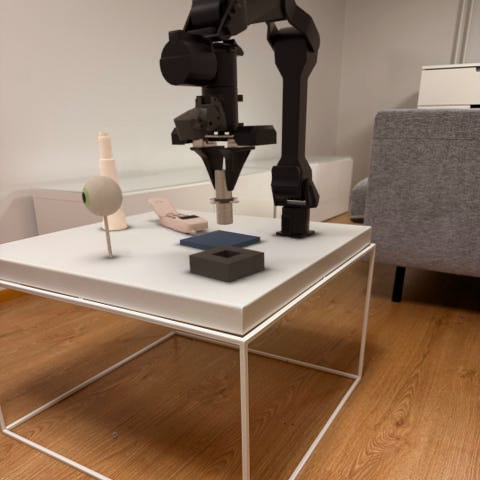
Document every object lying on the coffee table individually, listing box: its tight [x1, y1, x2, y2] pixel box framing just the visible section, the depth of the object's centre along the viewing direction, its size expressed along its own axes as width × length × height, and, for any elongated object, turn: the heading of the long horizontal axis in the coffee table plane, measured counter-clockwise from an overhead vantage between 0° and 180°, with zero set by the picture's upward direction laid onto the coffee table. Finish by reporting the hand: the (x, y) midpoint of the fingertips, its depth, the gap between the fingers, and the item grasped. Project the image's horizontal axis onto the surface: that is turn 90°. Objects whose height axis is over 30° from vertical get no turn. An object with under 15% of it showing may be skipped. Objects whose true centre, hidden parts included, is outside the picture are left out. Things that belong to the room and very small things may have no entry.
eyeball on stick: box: [81, 175, 124, 259], centre depth 86 cm, size 7×7×15 cm
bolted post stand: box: [209, 168, 240, 226], centre depth 80 cm, size 6×6×9 cm
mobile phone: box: [146, 196, 209, 236], centre depth 114 cm, size 6×6×25 cm
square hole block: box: [188, 245, 265, 283], centre depth 79 cm, size 9×9×3 cm
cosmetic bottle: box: [97, 131, 128, 231], centre depth 111 cm, size 6×6×22 cm
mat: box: [179, 229, 261, 251], centre depth 98 cm, size 12×12×1 cm
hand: (223, 190), depth 79 cm, fingers closed on bolted post stand, 3 cm apart
